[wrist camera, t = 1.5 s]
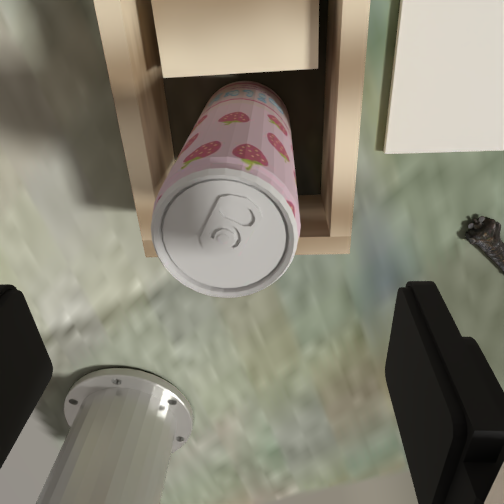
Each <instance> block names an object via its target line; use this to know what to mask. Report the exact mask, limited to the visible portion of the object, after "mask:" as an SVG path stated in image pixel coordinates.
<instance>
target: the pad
mask: <svg viewBox="0 0 504 504" xmlns="http://www.w3.org/2000/svg"><path fill="white" fill-rule="evenodd" d="M496 150H504V0H400V9H399V18H398V27H397V36H396V45H395V53H394V62H393V71H392V80H391V89H390V98H389V106H388V115H387V124H386V133H385V142H384V153H385V154H397V153H430V152H463V151H496Z"/></svg>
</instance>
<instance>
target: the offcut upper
mask: <svg viewBox="0 0 504 504" xmlns="http://www.w3.org/2000/svg"><path fill="white" fill-rule="evenodd" d="M151 3H152V9H153V16H154V22H155V28H156V35H157V41H158V47H159V53H160V60H161V66H162V72H163V78H172V77H188V76H205V75H221V74H238V73H254V72H271V71H287V70H304V69H318V41H319V0H151Z"/></svg>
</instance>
